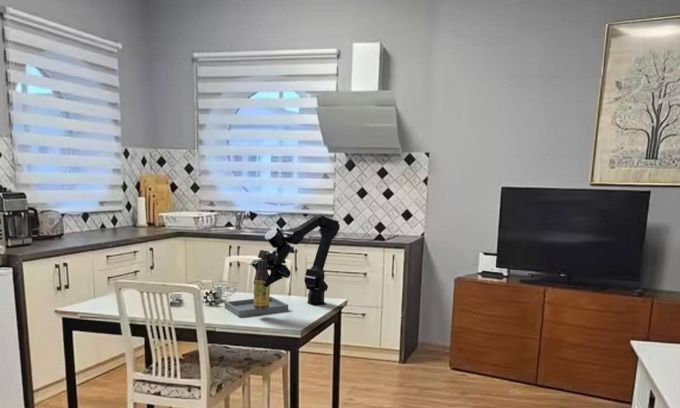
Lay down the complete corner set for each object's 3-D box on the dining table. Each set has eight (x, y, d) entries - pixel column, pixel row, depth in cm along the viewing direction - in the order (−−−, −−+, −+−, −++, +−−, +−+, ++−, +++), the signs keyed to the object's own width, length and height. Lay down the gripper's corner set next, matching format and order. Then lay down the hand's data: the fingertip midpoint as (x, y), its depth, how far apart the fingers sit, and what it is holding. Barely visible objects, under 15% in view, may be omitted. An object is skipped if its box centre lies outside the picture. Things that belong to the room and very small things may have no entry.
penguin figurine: (163, 284, 219) (172, 281, 231) (162, 304, 219) (171, 300, 231) (177, 285, 219) (186, 282, 231) (176, 304, 219) (185, 300, 231)
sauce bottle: (250, 309, 200) (250, 260, 200) (258, 305, 206) (258, 257, 205) (265, 311, 198) (265, 261, 197) (272, 307, 204) (272, 258, 203)
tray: (271, 302, 228) (271, 296, 228) (288, 310, 214) (288, 304, 214) (224, 307, 216) (224, 301, 216) (238, 317, 202) (238, 310, 202)
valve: (212, 298, 232) (203, 305, 220) (212, 284, 232) (203, 290, 220) (226, 299, 232) (217, 305, 220) (226, 285, 231) (217, 290, 220)
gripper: (254, 240, 210) (233, 270, 202) (285, 244, 198) (264, 276, 190) (268, 257, 216) (248, 286, 208) (299, 262, 204) (279, 293, 197)
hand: (259, 285), depth 201 cm, fingers closed on sauce bottle, 6 cm apart
